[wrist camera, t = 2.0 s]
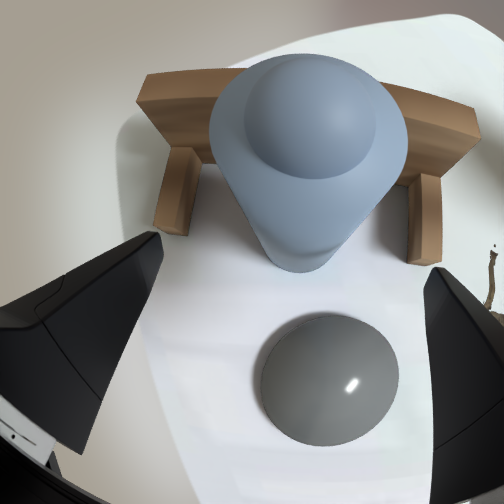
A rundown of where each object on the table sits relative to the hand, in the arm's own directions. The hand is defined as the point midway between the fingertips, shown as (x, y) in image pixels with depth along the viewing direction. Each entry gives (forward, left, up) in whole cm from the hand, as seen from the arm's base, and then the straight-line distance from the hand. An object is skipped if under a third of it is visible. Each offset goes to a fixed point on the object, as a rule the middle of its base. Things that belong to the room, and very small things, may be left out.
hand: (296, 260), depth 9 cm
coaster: (-3, -6, -10) cm, 12 cm away
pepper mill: (+3, +2, -10) cm, 11 cm away
